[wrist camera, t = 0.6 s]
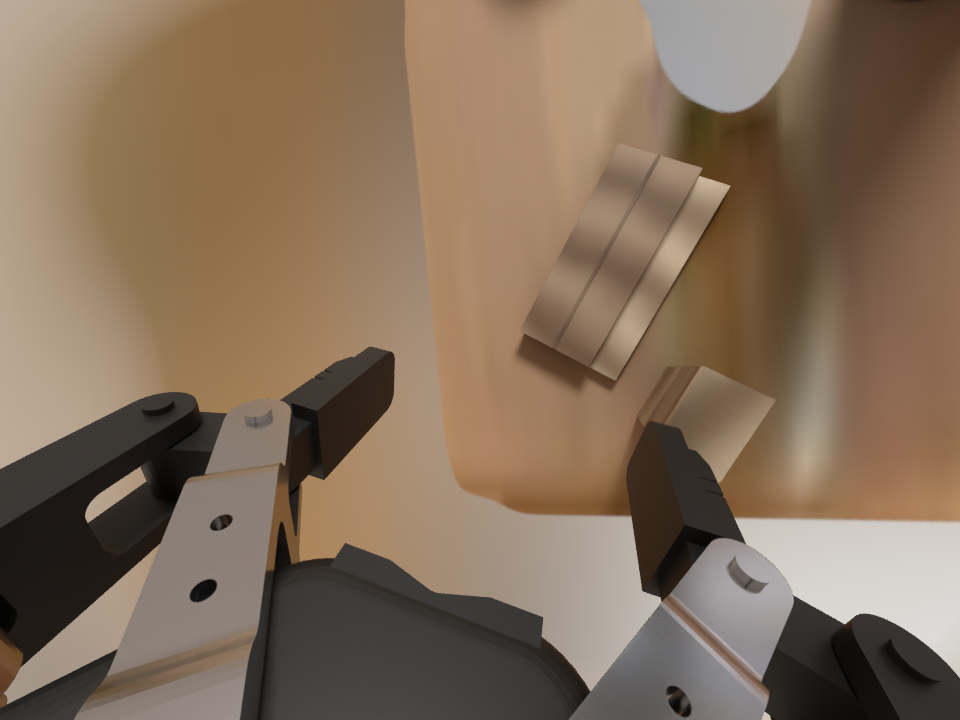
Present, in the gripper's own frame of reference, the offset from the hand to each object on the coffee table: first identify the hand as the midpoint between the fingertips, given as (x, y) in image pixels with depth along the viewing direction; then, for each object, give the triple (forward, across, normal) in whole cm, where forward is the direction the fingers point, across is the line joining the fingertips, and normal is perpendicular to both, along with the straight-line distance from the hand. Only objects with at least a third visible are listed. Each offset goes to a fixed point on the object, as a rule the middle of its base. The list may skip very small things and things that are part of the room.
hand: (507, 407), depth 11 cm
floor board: (+25, -5, -1) cm, 25 cm away
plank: (+19, -12, +8) cm, 24 cm away
